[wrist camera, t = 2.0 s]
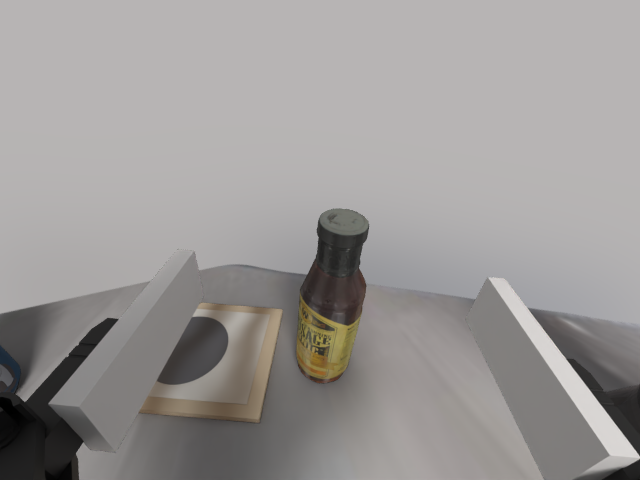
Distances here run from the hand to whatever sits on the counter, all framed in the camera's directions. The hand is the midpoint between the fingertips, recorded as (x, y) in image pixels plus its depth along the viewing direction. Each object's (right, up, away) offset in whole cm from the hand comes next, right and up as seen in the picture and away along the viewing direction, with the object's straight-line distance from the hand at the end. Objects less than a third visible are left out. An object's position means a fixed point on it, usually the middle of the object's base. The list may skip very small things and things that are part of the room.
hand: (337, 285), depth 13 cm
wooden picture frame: (-16, -11, +20) cm, 28 cm away
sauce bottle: (0, -13, +20) cm, 24 cm away
